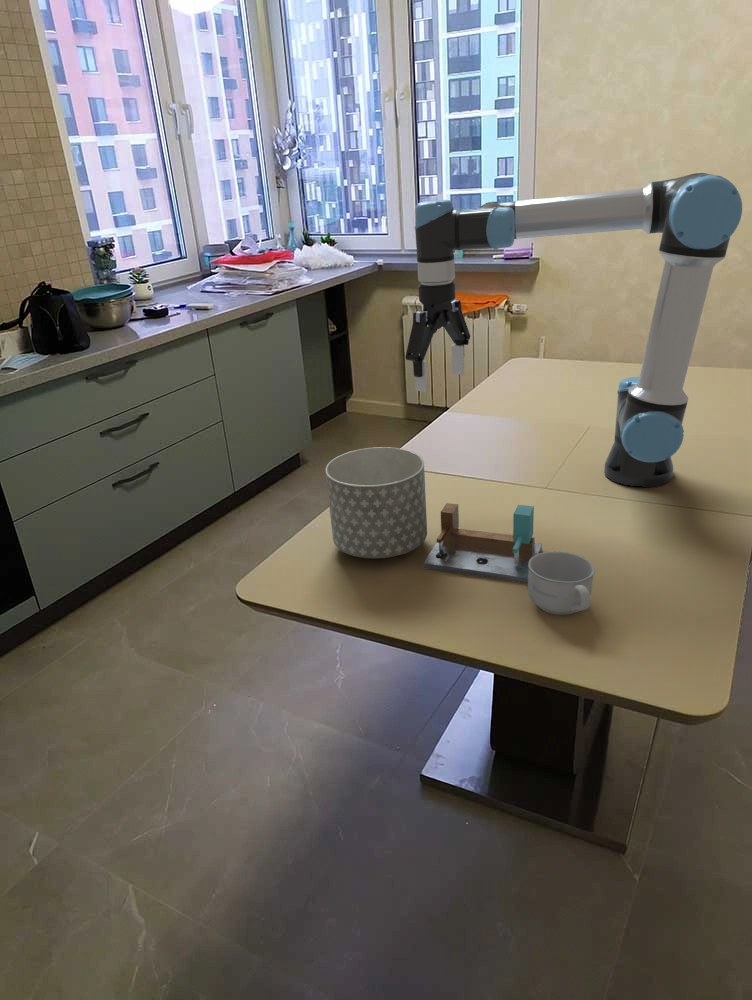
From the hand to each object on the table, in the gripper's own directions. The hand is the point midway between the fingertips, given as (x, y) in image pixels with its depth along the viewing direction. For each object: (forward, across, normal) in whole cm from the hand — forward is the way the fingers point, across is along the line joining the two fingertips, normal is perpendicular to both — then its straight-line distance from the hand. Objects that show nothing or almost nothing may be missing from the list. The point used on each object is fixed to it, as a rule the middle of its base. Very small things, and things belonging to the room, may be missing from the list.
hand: (440, 382), depth 157 cm
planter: (+26, +29, +4) cm, 39 cm away
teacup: (+27, +28, +44) cm, 59 cm away
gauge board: (+26, +21, +24) cm, 41 cm away
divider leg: (+25, +19, +31) cm, 43 cm away
